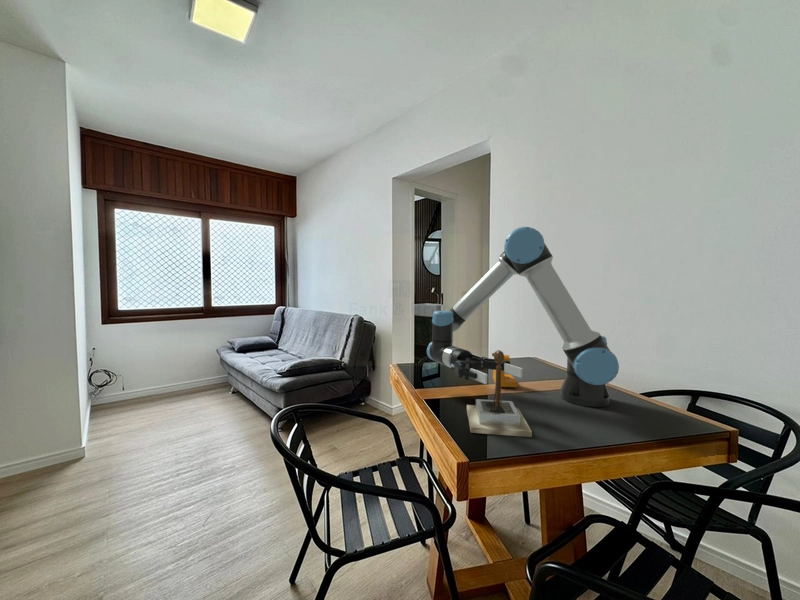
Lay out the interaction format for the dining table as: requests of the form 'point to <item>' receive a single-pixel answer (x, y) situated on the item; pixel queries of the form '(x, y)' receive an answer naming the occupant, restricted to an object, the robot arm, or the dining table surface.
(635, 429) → the dining table surface
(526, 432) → the stand
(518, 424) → the collar
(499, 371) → the wooden tabletop sculpture
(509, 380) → the bracket
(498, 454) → the dining table surface
